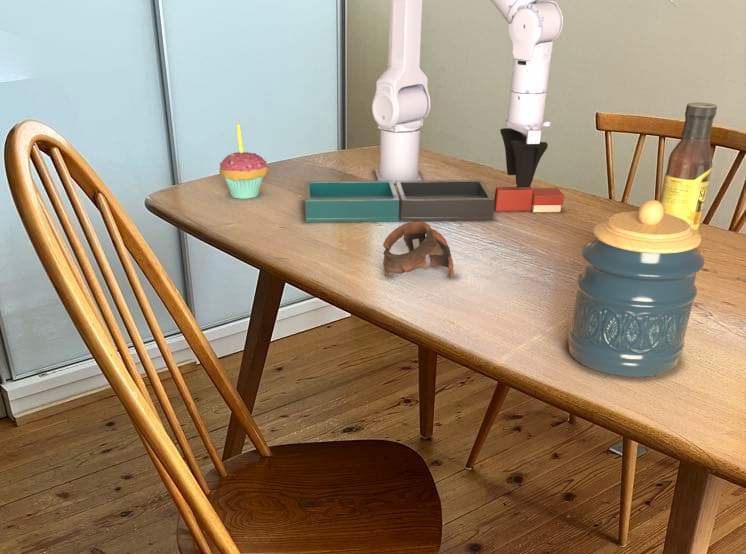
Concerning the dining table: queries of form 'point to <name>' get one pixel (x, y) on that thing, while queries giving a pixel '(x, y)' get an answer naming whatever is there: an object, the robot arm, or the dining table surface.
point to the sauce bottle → (690, 166)
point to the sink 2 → (444, 200)
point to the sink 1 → (351, 201)
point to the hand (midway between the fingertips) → (518, 180)
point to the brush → (528, 199)
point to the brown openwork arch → (416, 249)
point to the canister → (635, 293)
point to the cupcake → (243, 171)
